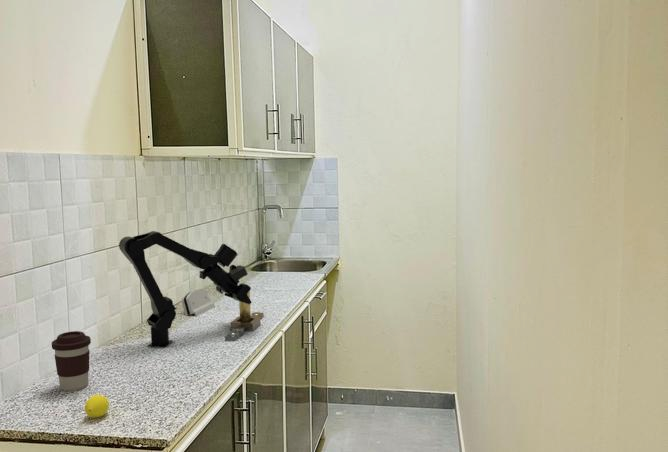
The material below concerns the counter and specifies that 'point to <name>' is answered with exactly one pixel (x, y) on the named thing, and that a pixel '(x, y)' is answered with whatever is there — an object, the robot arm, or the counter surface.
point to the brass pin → (245, 310)
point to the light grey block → (196, 302)
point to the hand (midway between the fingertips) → (248, 302)
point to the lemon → (96, 406)
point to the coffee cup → (72, 359)
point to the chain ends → (243, 326)
